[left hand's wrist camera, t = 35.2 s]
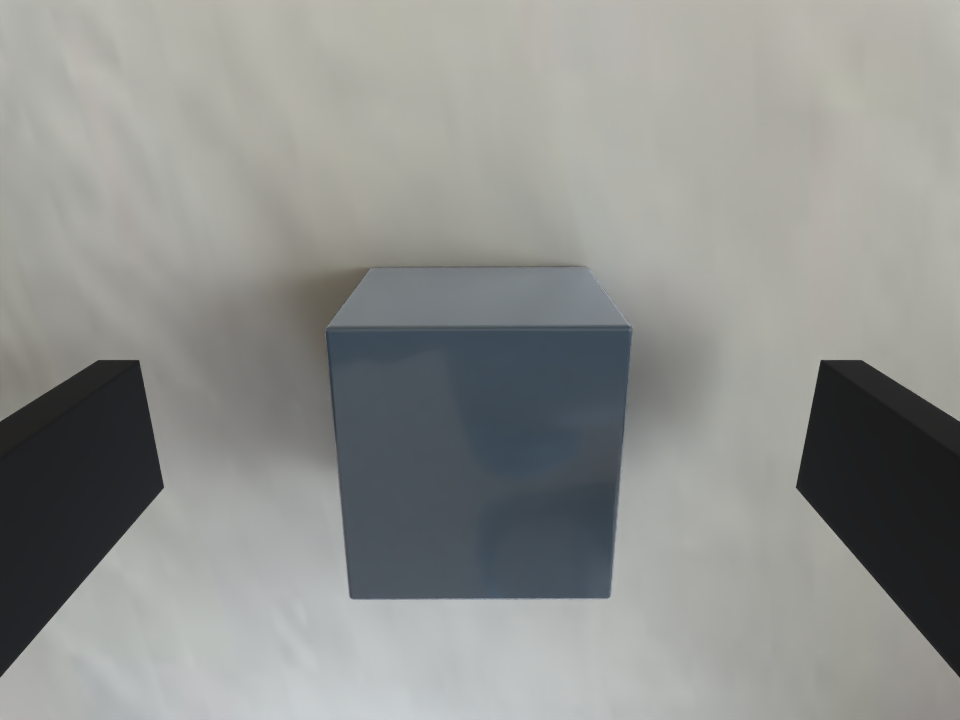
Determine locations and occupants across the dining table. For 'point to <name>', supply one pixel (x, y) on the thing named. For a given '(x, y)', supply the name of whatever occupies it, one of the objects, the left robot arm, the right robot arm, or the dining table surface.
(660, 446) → the dining table surface
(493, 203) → the dining table surface
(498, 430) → the block
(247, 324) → the dining table surface
